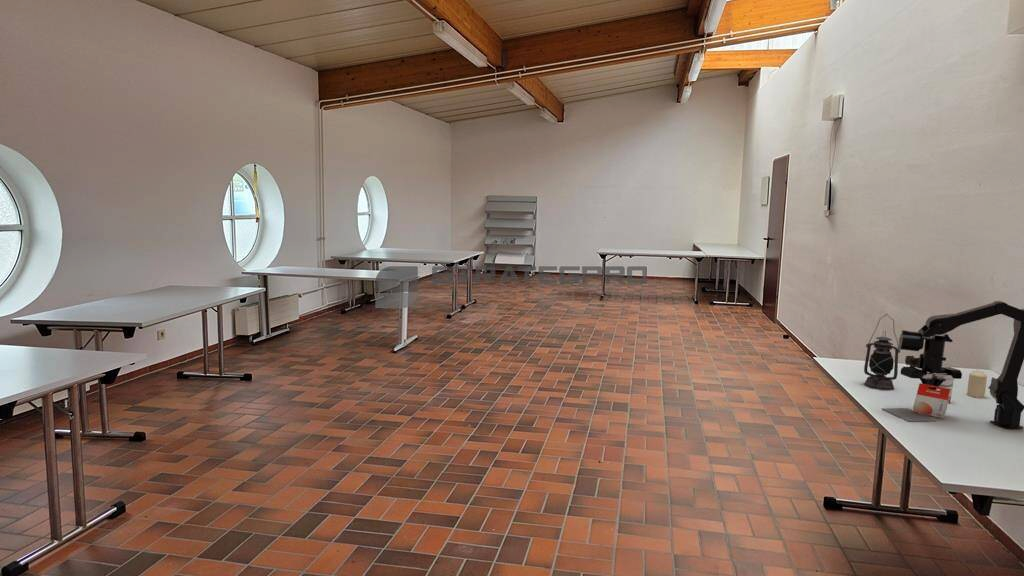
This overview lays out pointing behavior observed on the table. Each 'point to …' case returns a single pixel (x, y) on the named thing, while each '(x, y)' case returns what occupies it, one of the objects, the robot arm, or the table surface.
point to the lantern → (881, 363)
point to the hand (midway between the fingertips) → (928, 396)
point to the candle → (977, 384)
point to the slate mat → (908, 415)
